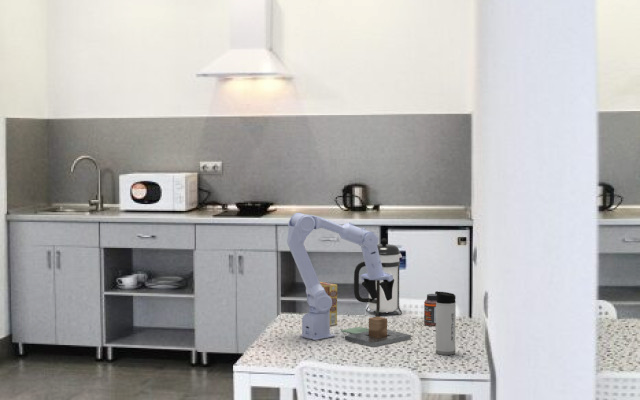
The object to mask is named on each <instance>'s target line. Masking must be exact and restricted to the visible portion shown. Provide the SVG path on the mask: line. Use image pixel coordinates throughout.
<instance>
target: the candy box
mask: <svg viewBox="0 0 640 400" xmlns="http://www.w3.org/2000/svg"><path fill="white" fill-rule="evenodd" d="M319 282H320V284H321V286H322V287H323V288H324V290H325V292H326V294H327V295H328V296H330V297H331V299H332V306H331V308H330V327H331V326H337V325H338V284H335V283H331V282H325V281H319Z"/></svg>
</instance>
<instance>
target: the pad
mask: <svg viewBox="0 0 640 400" xmlns="http://www.w3.org/2000/svg"><path fill="white" fill-rule="evenodd" d="M367 331H369V328H368V327H362V326H357V327H356V326H355V327H350V328H346V329H341V330H340V332H343V333H347V334H350V335H351V334H357V333H362V332H367Z"/></svg>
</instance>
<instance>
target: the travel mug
mask: <svg viewBox="0 0 640 400" xmlns="http://www.w3.org/2000/svg"><path fill="white" fill-rule="evenodd" d="M434 294H437V297H436V299H437V300H436V326H435V353H436V354H437V355H439V356H440V355H441V356H453V355H455V354H456V320H457V319H456V317H457V316H456V313H457V312H456V309H457V308H456V305H457V304H456V303H457V301H456V295H455V294H454V293H451V292H446V291H435V292H434ZM452 354H453V355H452Z"/></svg>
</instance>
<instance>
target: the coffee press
mask: <svg viewBox="0 0 640 400" xmlns="http://www.w3.org/2000/svg"><path fill="white" fill-rule="evenodd" d="M380 241H381V242H380V244H379V243H377V248H378V251H379V255H380V259H381V263H382V267H383V271H385V273H387V274H392V276H393V279H394V283H393V288H392V299H390V300H387V299H386V297H385V294H384V291H383V289H382V287H381V286H380V284H379V283H381V282H383V280H376V291H377V298H376V299H374V300H372V298H371V296H370V294H369V293H368V296H367V297H362V296H360V271H361V269H362V268H364V267H366V265H365V261H361V262H360V263H358V264H357V265H356V266H355V269H354V271H353V272H354V273H353V293H354V297H355V299H356V300H357V301H358V302H360V303H366V304H367V303H368V306H367V307H366V309H365V312H366V313H369V312H371V311H372V312H375V316H374V317H381V316H380V315H381V314H382V313H392V312H394V313H395V314H396V315H397V316H401V315H402V313H403V312H402V310H401V308H400V265H401V264H400V263H401V260H400V258H403V256H402V254H401V250H400V248H399V247H398V246H397V245H394V244H390V243H389V244H388V243H387V242H388V240H387V238H385V237H383V238H382V239H381V240H380ZM368 309H369V310H368ZM398 311H399V312H398Z"/></svg>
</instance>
